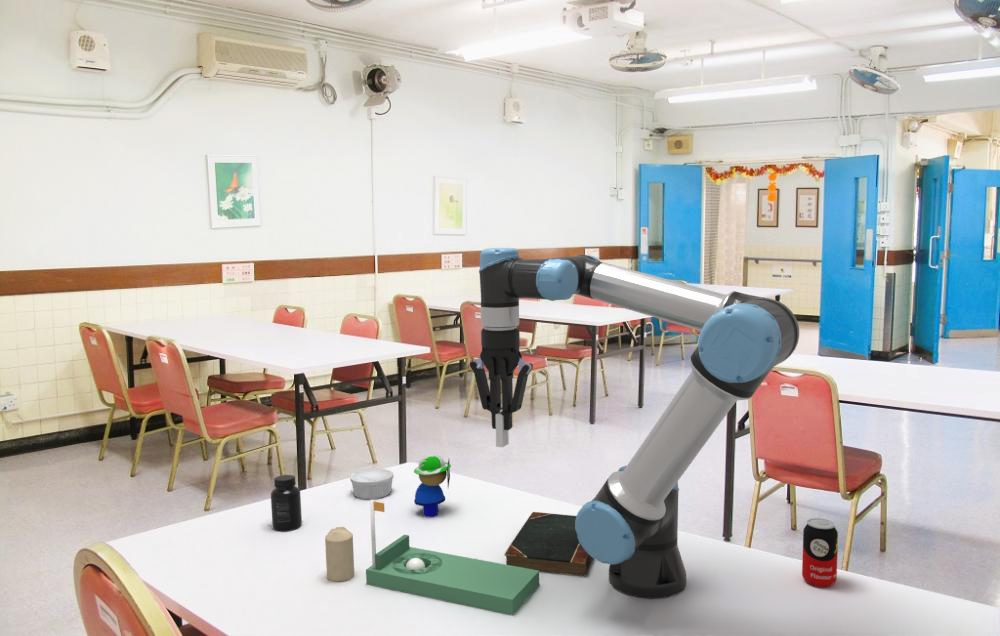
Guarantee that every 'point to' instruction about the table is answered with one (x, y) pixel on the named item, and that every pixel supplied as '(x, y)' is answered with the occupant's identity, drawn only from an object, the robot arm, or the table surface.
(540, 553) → the book
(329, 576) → the candle
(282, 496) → the supplement bottle
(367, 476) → the ramekin
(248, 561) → the table surface
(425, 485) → the toy
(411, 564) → the ball
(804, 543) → the beverage can
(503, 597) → the green
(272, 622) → the table surface
